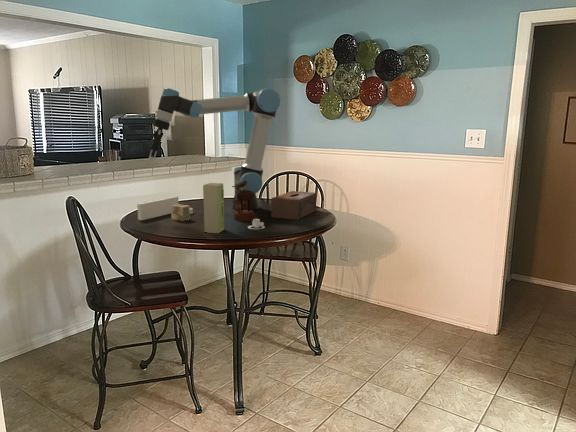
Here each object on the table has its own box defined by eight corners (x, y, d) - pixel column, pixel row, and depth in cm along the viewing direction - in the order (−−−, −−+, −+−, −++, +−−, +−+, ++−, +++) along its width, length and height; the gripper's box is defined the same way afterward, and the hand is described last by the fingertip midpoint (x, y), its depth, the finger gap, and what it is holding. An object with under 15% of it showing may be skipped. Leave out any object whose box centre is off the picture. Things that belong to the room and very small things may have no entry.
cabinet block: (190, 219, 233) (189, 205, 231) (183, 221, 229) (182, 207, 227) (179, 217, 236) (178, 204, 235) (172, 219, 232) (171, 205, 231)
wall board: (194, 213, 248) (194, 198, 246) (155, 222, 225) (154, 206, 223) (178, 210, 254) (177, 196, 253) (138, 220, 231) (137, 204, 229)
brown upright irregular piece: (245, 222, 225) (241, 181, 222) (227, 221, 231) (224, 182, 228) (263, 217, 238) (260, 178, 235) (246, 216, 244) (243, 178, 240)
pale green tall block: (220, 233, 205) (218, 185, 200) (204, 232, 206) (202, 185, 202) (226, 229, 212) (224, 183, 208) (210, 228, 214) (209, 182, 209)
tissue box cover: (297, 220, 233) (297, 200, 231) (271, 217, 238) (271, 198, 236) (316, 210, 256) (316, 192, 254) (291, 208, 261) (291, 191, 259)
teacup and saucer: (261, 225, 222) (261, 216, 221) (269, 228, 216) (269, 219, 215) (244, 227, 218) (244, 218, 217) (252, 231, 211) (252, 222, 210)
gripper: (155, 117, 239) (143, 157, 241) (154, 117, 215) (141, 162, 218) (170, 122, 241) (158, 162, 243) (171, 123, 217) (158, 167, 220)
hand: (150, 162), depth 231 cm, fingers open, 13 cm apart
